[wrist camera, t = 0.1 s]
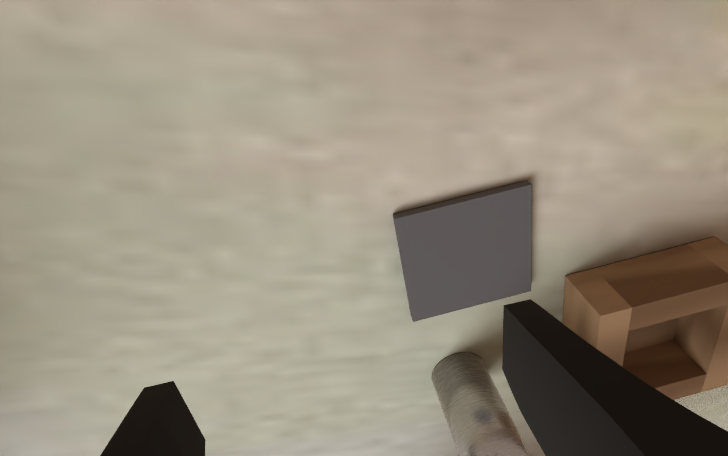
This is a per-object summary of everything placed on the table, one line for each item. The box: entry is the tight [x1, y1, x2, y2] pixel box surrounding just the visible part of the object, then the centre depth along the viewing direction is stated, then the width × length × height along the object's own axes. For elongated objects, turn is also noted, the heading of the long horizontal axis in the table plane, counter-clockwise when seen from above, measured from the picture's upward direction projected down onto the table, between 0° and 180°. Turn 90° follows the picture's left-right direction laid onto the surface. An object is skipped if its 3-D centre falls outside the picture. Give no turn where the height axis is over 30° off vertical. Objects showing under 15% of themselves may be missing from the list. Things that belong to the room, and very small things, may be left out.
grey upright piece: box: [432, 353, 530, 456], centre depth 22 cm, size 3×5×9 cm, turn 101°
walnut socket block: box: [563, 237, 728, 400], centre depth 25 cm, size 8×8×3 cm
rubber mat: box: [393, 181, 532, 322], centre depth 22 cm, size 6×6×1 cm
